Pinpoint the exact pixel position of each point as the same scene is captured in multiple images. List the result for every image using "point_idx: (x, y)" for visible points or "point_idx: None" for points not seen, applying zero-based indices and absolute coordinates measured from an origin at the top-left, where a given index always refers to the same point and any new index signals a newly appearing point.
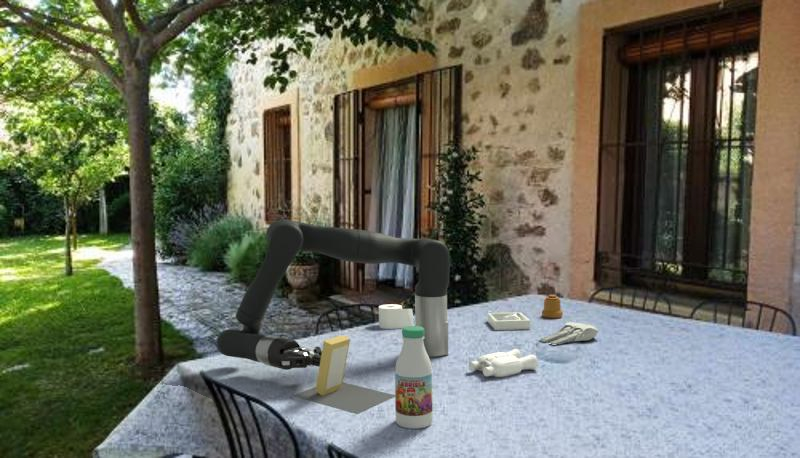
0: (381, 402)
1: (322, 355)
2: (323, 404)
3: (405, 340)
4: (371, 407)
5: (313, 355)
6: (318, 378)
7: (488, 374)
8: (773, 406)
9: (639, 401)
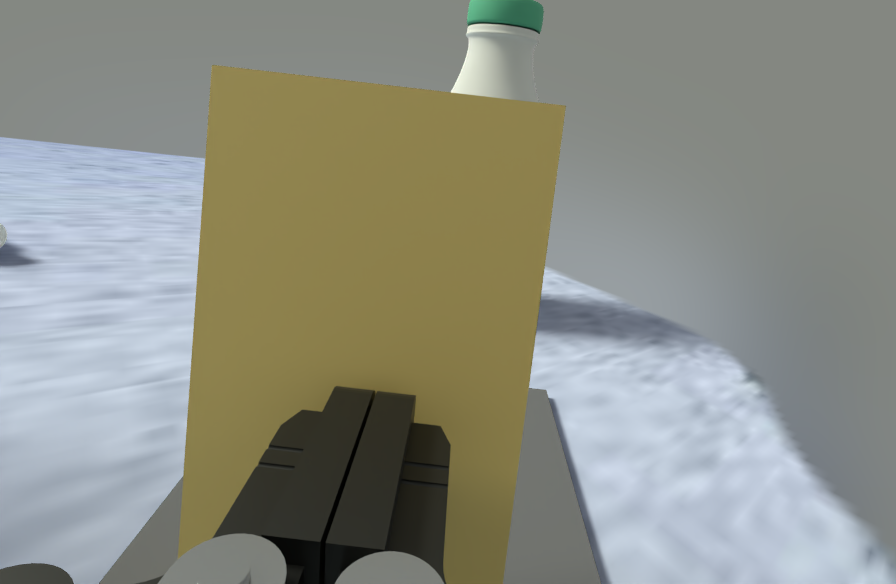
0: None
1: (536, 297)
2: (590, 547)
3: (535, 44)
4: None
5: (340, 580)
6: (500, 580)
7: (6, 238)
8: (180, 158)
9: (183, 184)
